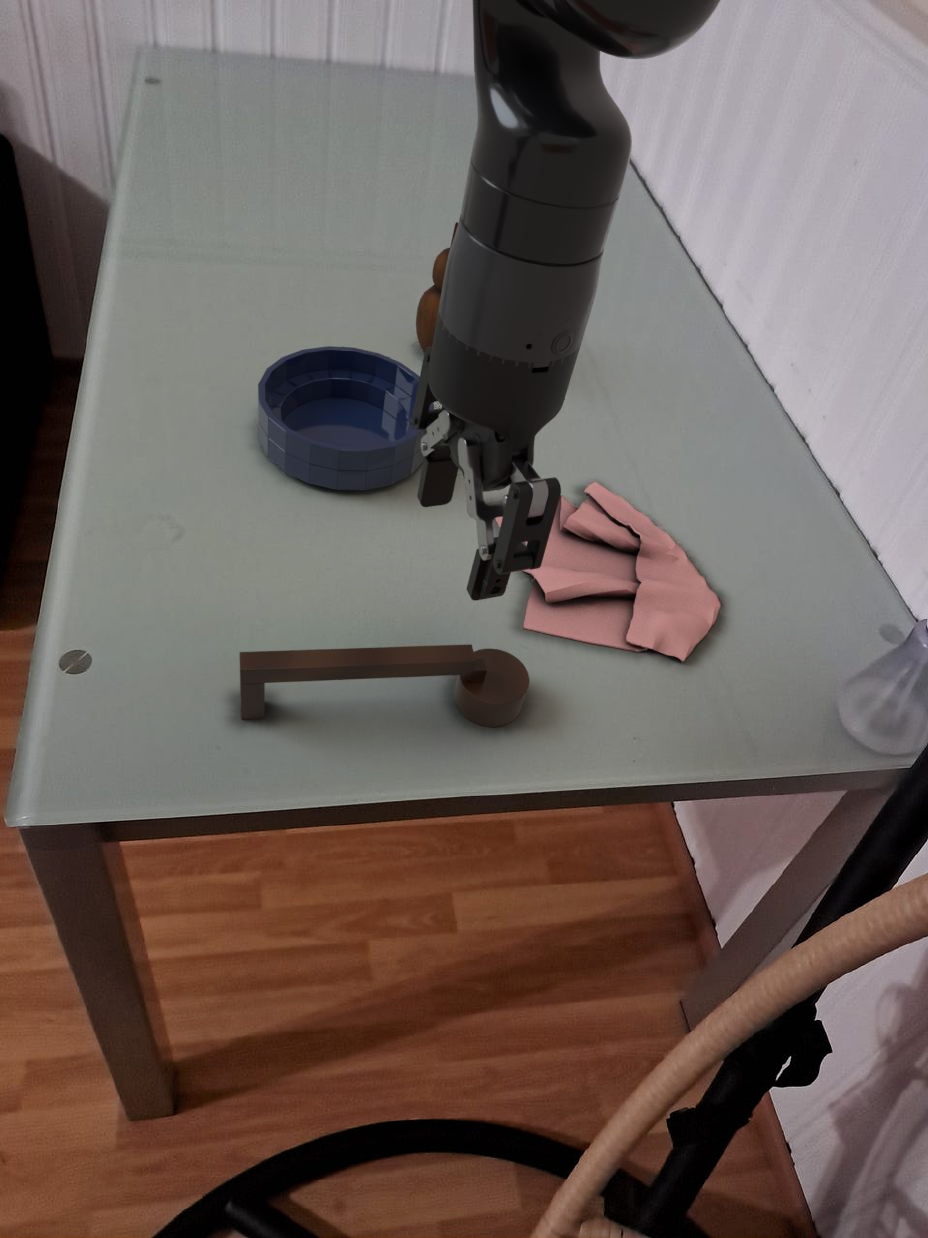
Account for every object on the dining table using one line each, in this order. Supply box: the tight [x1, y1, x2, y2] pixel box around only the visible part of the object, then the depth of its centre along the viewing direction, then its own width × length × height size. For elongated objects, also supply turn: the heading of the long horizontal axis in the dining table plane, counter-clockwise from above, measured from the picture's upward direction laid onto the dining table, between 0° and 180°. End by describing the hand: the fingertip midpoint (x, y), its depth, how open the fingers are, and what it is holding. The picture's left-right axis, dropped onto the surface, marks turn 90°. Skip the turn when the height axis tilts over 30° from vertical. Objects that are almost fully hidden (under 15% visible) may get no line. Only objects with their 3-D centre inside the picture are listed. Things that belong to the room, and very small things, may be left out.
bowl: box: [257, 345, 435, 491], centre depth 87 cm, size 16×16×5 cm
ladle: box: [239, 643, 530, 728], centre depth 67 cm, size 21×5×6 cm, turn 100°
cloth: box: [494, 481, 722, 663], centre depth 82 cm, size 20×22×2 cm
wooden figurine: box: [415, 221, 459, 353], centre depth 96 cm, size 7×6×15 cm
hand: (457, 547), depth 60 cm, fingers open, 8 cm apart
